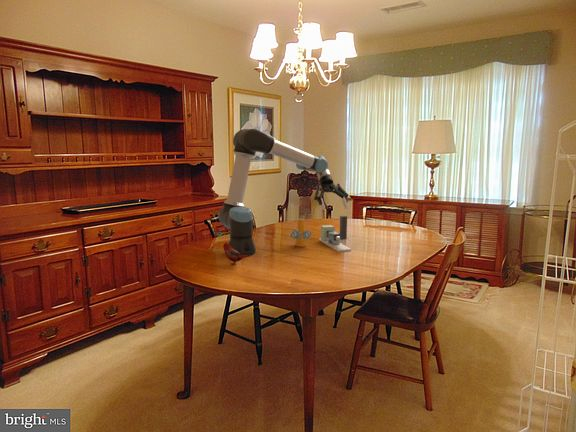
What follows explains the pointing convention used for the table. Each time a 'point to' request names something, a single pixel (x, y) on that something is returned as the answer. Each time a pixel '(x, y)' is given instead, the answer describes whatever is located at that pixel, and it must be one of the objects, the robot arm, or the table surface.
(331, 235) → the outer sleeve
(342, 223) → the grey upright bracket
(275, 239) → the table surface
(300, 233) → the orange grey upright piece
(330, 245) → the base plate
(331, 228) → the socket block
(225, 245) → the decorative bird figurine
